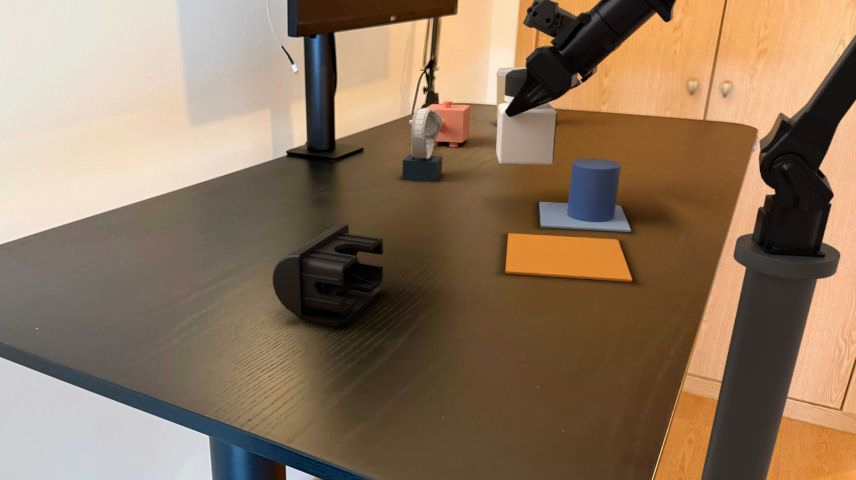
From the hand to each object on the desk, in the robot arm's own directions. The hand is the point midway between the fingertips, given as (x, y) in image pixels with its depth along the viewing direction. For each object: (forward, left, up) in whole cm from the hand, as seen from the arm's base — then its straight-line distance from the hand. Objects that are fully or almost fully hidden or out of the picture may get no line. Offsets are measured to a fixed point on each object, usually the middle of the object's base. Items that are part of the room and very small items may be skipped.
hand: (516, 109), depth 96 cm
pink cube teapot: (+13, -40, -13) cm, 45 cm away
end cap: (+16, +39, -13) cm, 44 cm away
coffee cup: (0, -63, -13) cm, 65 cm away
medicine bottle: (-2, 0, -7) cm, 7 cm away
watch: (+14, -13, -13) cm, 24 cm away
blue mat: (-10, +5, -13) cm, 17 cm away
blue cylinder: (-11, +5, -13) cm, 17 cm away
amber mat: (-7, +21, -13) cm, 25 cm away
